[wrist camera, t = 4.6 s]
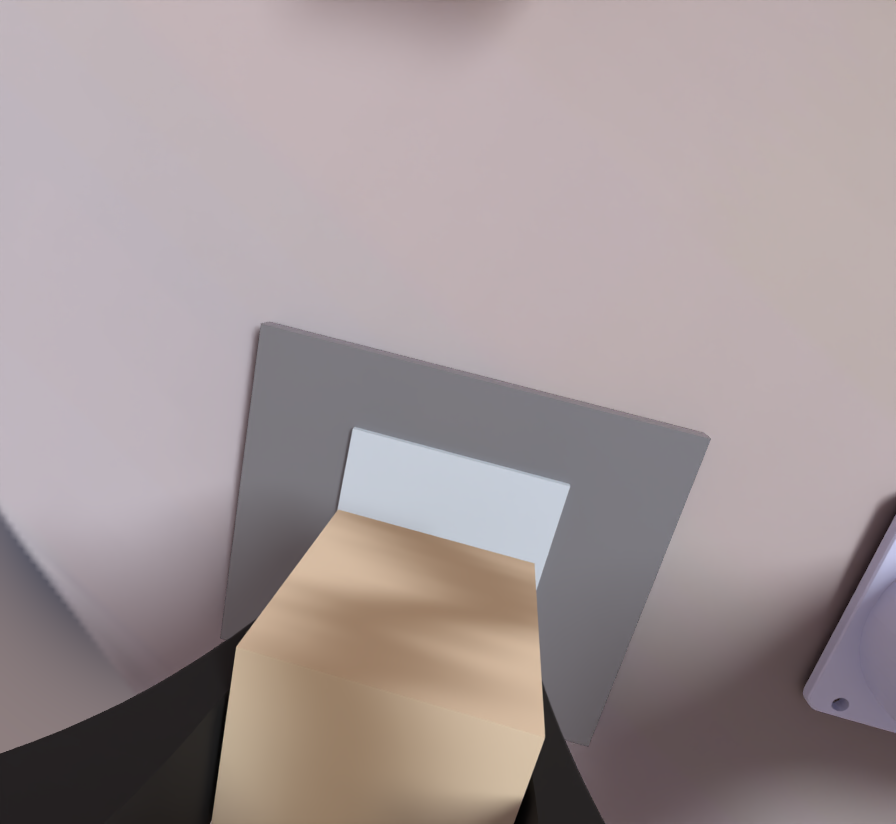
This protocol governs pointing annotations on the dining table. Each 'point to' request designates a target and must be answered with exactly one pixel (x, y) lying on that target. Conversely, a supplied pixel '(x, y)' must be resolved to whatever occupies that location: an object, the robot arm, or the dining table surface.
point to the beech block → (386, 686)
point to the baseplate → (463, 490)
